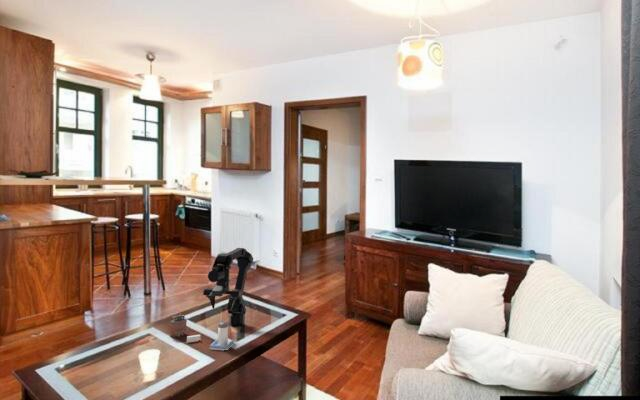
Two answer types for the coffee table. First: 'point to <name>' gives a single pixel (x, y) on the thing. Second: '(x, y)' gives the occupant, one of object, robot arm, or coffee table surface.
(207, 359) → the coffee table surface
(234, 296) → the robot arm
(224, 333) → the white cylinder
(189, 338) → the duct rail
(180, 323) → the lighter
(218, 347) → the blue bay
